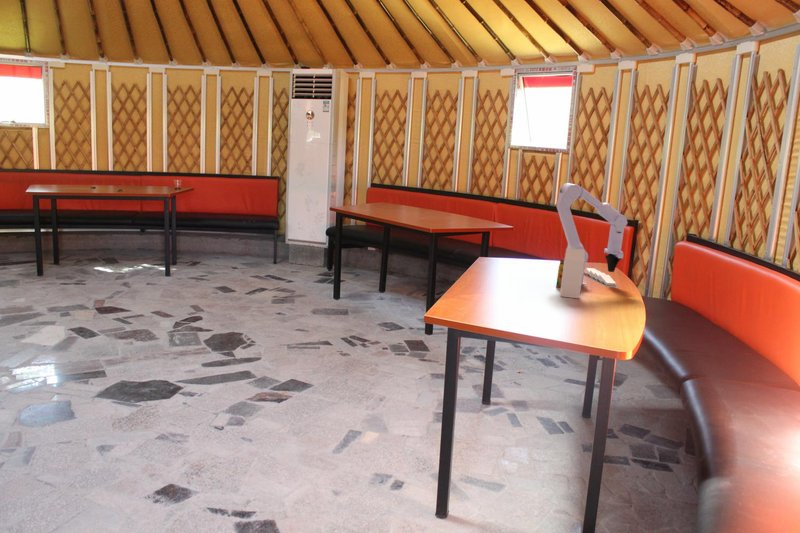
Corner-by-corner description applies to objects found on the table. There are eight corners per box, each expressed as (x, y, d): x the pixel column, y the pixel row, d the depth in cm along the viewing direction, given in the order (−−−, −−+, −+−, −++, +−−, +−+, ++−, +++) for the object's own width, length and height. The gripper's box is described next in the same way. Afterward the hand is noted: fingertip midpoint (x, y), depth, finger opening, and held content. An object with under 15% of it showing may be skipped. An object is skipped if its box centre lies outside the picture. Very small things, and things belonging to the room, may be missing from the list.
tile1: (616, 283, 280) (608, 274, 288) (606, 282, 279) (599, 274, 287) (615, 285, 281) (607, 277, 288) (606, 285, 280) (598, 276, 288)
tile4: (601, 276, 294) (595, 268, 302) (592, 275, 294) (586, 267, 301) (601, 278, 295) (594, 270, 302) (592, 278, 294) (585, 270, 302)
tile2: (611, 281, 285) (603, 272, 292) (602, 280, 284) (594, 272, 292) (610, 283, 285) (603, 275, 293) (601, 282, 285) (594, 274, 292)
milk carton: (579, 298, 250) (585, 251, 247) (560, 296, 252) (566, 249, 248) (578, 295, 257) (584, 248, 254) (560, 293, 258) (565, 246, 255)
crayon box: (555, 287, 269) (559, 260, 266) (556, 286, 271) (559, 259, 269) (573, 290, 267) (577, 262, 264) (574, 288, 269) (577, 261, 267)
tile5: (597, 273, 299) (589, 271, 308) (588, 273, 299) (580, 271, 307) (596, 276, 300) (589, 274, 308) (587, 275, 299) (580, 273, 307)
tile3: (606, 278, 289) (599, 270, 297) (597, 278, 289) (590, 270, 297) (605, 281, 290) (598, 272, 298) (596, 280, 289) (589, 272, 297)
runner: (620, 288, 278) (620, 287, 278) (606, 287, 277) (606, 286, 277) (597, 277, 301) (597, 276, 301) (584, 276, 300) (584, 275, 300)
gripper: (631, 244, 272) (627, 275, 274) (616, 239, 286) (612, 268, 288) (616, 243, 271) (611, 274, 273) (601, 238, 285) (597, 268, 287)
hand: (610, 271), depth 281 cm, fingers closed
